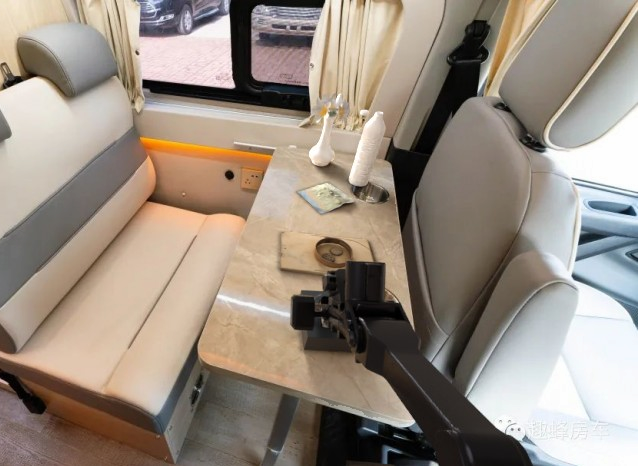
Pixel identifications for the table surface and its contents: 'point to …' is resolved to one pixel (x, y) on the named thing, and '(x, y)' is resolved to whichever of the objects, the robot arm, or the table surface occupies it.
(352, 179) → the water bottle
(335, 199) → the topographic map
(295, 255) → the board
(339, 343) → the jug base
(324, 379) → the table surface
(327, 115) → the flower vase
